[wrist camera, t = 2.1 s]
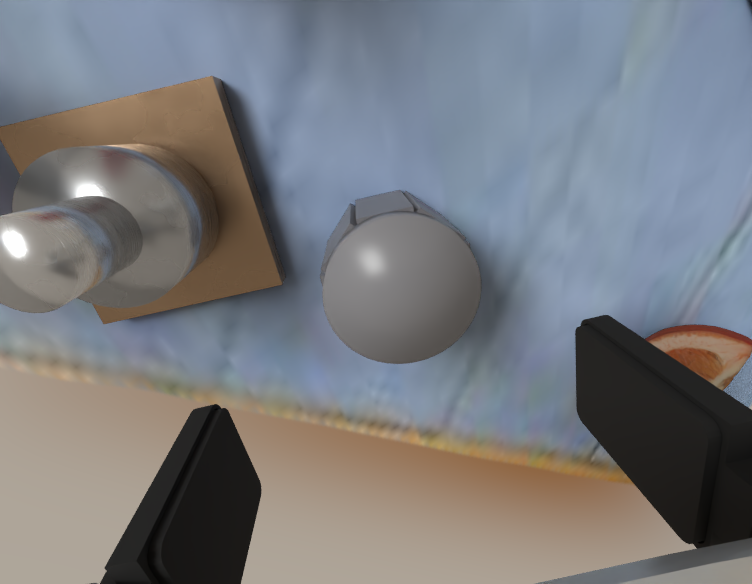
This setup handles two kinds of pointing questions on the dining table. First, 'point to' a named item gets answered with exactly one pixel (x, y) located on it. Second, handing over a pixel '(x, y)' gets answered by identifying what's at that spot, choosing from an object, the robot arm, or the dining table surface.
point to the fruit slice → (705, 350)
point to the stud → (134, 207)
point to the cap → (398, 279)
